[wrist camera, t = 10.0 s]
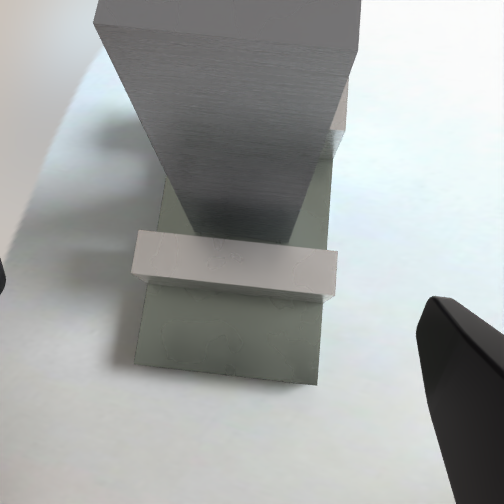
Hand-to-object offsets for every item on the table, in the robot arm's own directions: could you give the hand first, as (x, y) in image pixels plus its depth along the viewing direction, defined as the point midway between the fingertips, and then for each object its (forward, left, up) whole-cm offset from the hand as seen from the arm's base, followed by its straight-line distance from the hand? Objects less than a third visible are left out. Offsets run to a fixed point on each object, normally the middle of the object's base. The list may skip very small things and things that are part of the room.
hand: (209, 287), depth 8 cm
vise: (+6, +3, -14) cm, 15 cm away
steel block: (+6, +3, -12) cm, 14 cm away
